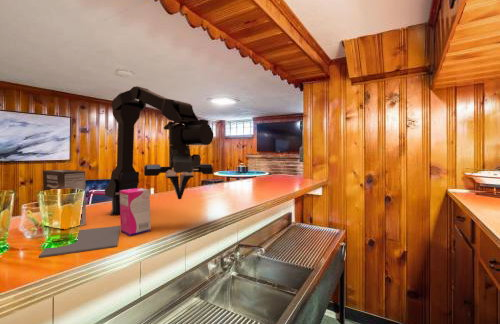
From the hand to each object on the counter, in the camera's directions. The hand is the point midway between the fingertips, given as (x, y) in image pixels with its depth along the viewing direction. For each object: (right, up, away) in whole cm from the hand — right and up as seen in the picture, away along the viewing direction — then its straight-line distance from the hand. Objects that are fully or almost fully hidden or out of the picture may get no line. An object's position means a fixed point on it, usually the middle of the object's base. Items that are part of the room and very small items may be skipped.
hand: (179, 199), depth 71 cm
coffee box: (-33, -8, 0) cm, 34 cm away
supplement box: (-11, -8, -5) cm, 14 cm away
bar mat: (-19, -8, -11) cm, 24 cm away
